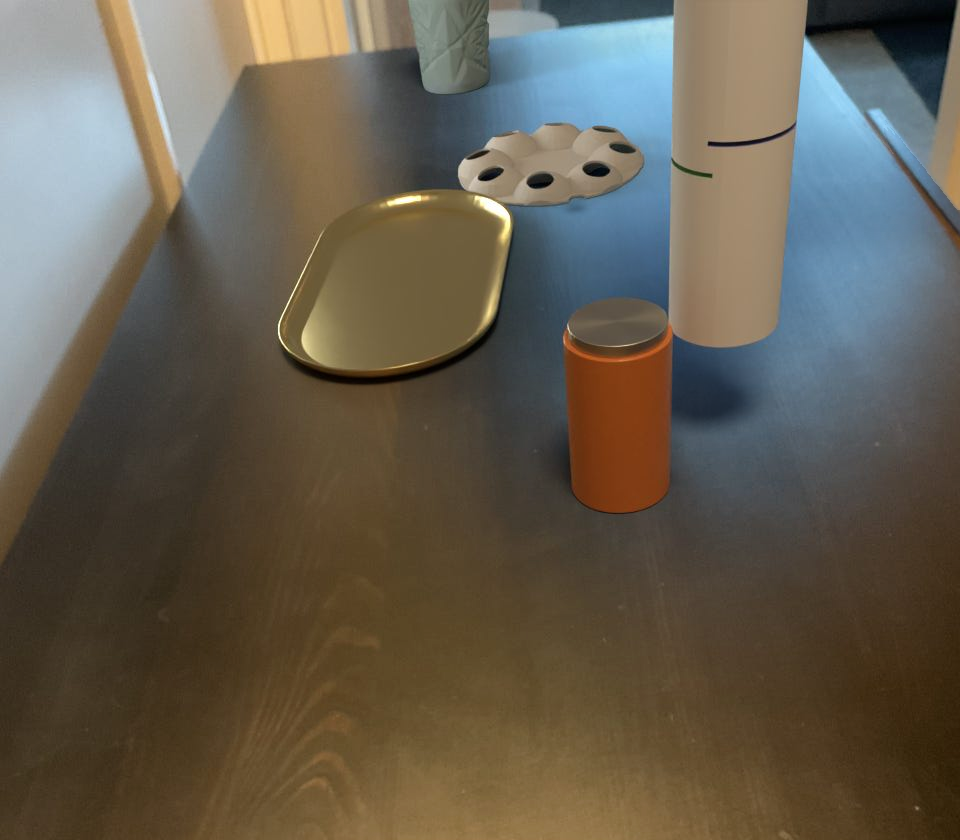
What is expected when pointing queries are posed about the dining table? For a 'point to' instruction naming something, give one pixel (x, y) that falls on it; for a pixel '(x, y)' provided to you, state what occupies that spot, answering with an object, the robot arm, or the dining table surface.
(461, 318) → the serving platter
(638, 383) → the orange can
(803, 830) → the dining table surface
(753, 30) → the cylindrical container
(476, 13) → the drinking glass
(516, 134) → the round palette
